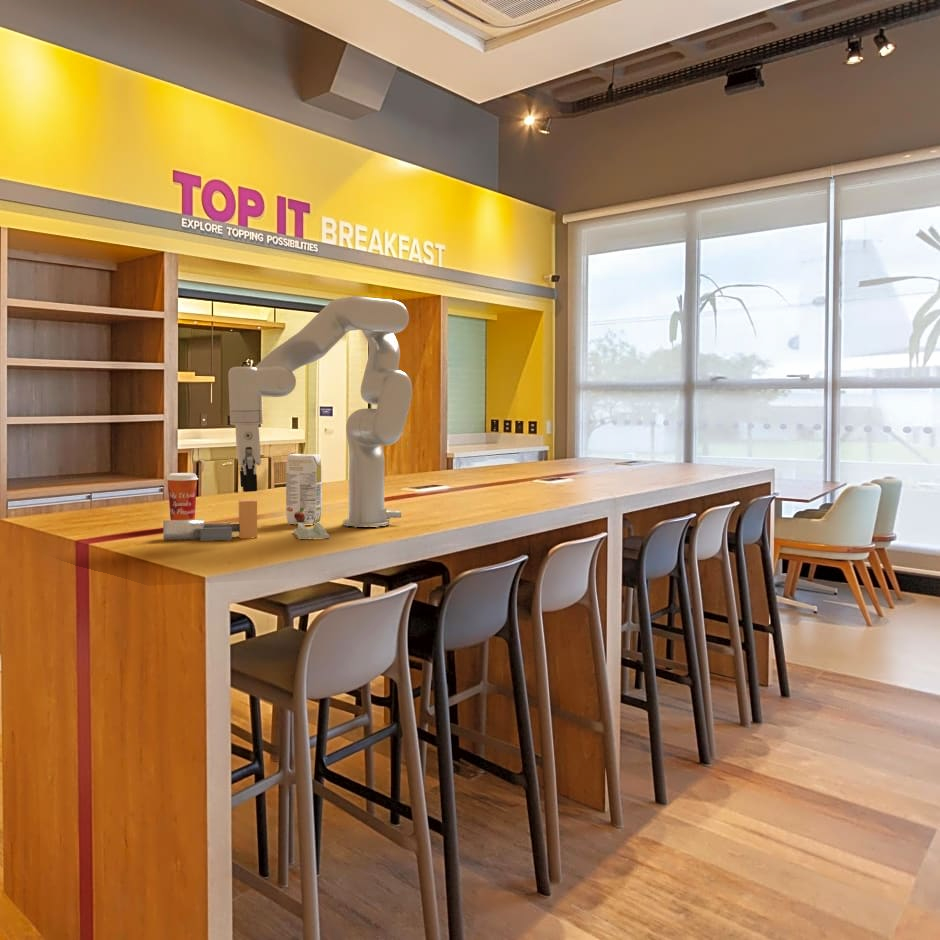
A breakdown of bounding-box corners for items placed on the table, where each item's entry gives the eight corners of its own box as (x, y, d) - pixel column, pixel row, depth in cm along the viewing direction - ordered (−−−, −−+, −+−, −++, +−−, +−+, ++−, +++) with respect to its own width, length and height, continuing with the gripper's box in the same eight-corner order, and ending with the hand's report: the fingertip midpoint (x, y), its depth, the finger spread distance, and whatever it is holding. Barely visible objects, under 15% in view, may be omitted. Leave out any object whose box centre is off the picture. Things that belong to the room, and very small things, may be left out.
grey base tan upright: (255, 535, 195) (255, 499, 194) (257, 538, 191) (256, 501, 190) (204, 537, 191) (204, 500, 190) (204, 540, 187) (204, 502, 186)
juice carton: (313, 526, 211) (313, 455, 209) (283, 524, 212) (283, 454, 211) (324, 522, 218) (324, 453, 216) (295, 521, 220) (295, 452, 218)
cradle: (321, 531, 202) (321, 522, 202) (329, 538, 192) (329, 529, 191) (294, 532, 200) (294, 523, 199) (299, 540, 189) (299, 530, 189)
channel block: (230, 534, 194) (230, 522, 194) (231, 540, 187) (231, 527, 187) (200, 535, 192) (200, 523, 192) (200, 541, 185) (200, 528, 184)
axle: (203, 536, 191) (203, 517, 190) (204, 541, 186) (204, 521, 186) (164, 537, 188) (163, 518, 187) (163, 543, 183) (163, 523, 183)
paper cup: (165, 530, 199) (164, 475, 198) (168, 525, 206) (167, 472, 205) (198, 529, 201) (197, 475, 200) (199, 525, 209) (199, 472, 207)
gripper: (265, 419, 183) (268, 492, 184) (259, 416, 199) (261, 484, 201) (231, 420, 180) (234, 494, 182) (228, 417, 196) (230, 485, 198)
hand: (248, 488), depth 191 cm, fingers open, 9 cm apart
